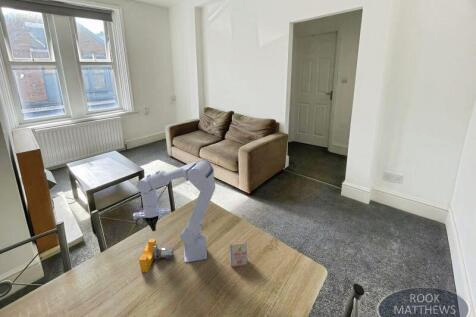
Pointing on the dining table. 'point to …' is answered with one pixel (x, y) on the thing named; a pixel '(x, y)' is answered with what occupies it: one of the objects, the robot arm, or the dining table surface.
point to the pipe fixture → (163, 253)
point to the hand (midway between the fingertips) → (154, 229)
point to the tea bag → (238, 254)
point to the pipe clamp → (147, 256)
